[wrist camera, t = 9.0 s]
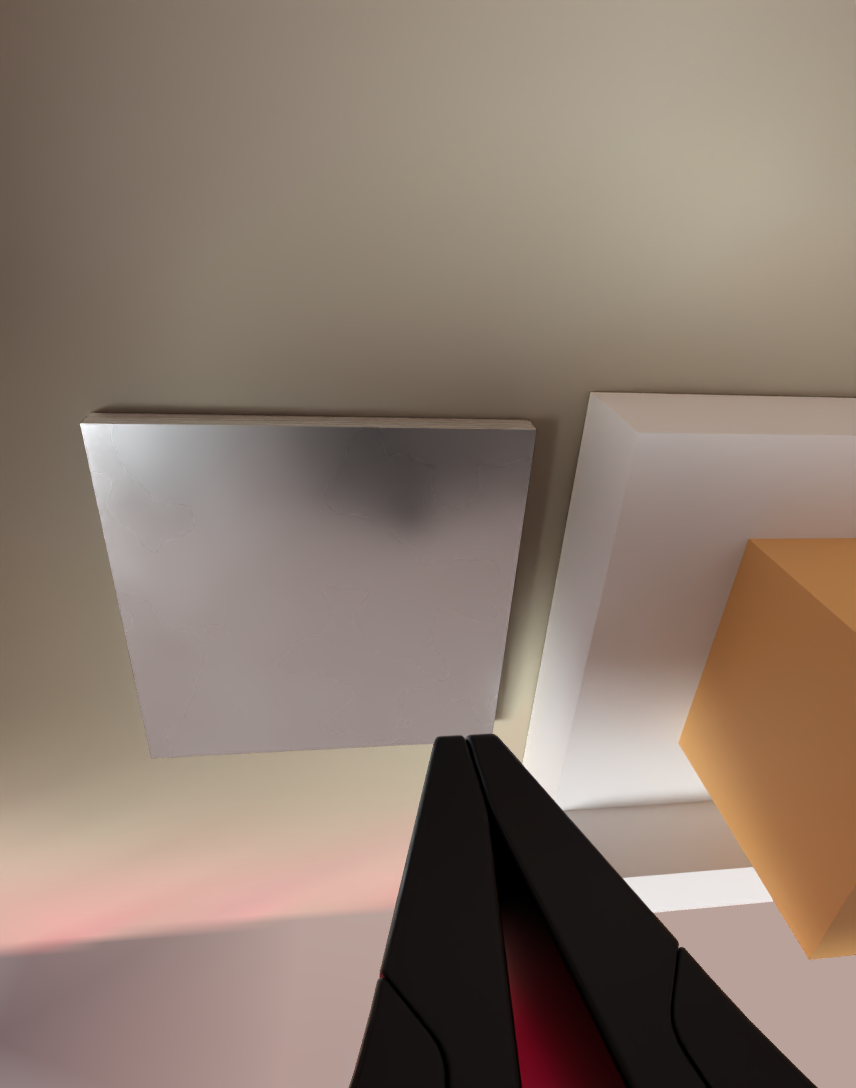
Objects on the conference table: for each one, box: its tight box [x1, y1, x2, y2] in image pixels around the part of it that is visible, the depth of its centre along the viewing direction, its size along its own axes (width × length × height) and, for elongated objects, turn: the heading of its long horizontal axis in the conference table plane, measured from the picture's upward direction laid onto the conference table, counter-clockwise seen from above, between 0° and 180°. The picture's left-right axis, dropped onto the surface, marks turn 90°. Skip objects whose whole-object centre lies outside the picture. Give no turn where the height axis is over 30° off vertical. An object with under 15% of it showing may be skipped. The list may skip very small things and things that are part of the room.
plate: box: [80, 413, 536, 758], centre depth 12 cm, size 7×7×1 cm
